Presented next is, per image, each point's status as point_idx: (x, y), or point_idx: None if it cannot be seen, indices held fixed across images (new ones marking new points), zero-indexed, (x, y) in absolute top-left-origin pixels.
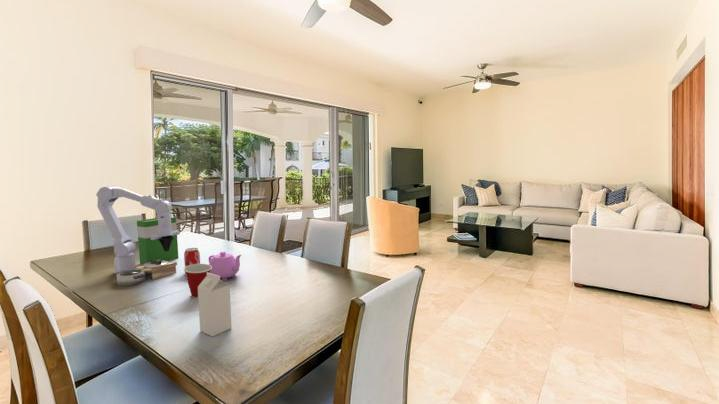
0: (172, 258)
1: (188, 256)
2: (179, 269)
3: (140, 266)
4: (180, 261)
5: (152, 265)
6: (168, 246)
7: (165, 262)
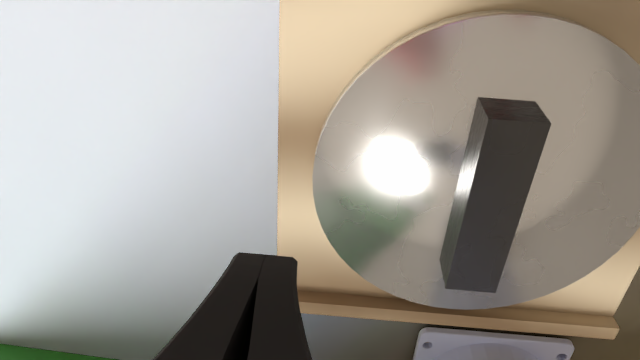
0: (28, 356)
1: None
2: (198, 10)
3: (565, 301)
4: (12, 249)
5: (592, 155)
6: (235, 325)
7: (387, 108)
